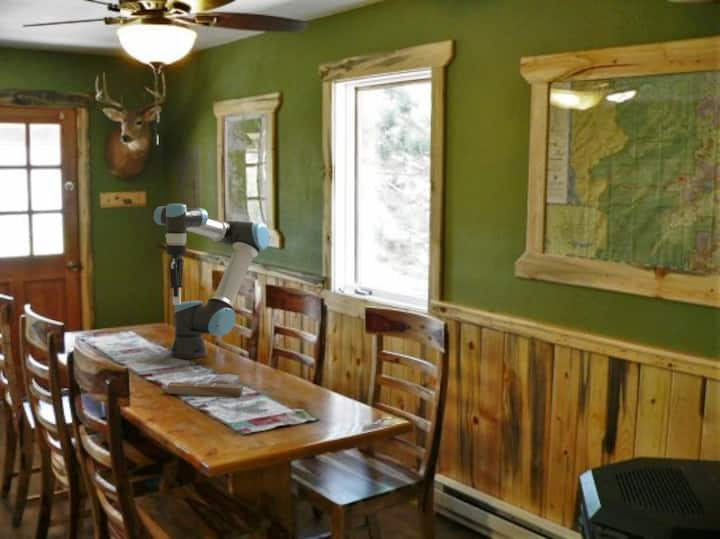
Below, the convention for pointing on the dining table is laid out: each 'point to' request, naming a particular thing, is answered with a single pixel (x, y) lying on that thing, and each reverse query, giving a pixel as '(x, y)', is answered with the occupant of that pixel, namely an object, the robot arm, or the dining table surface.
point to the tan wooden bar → (204, 389)
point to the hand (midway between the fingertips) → (176, 304)
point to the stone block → (225, 379)
